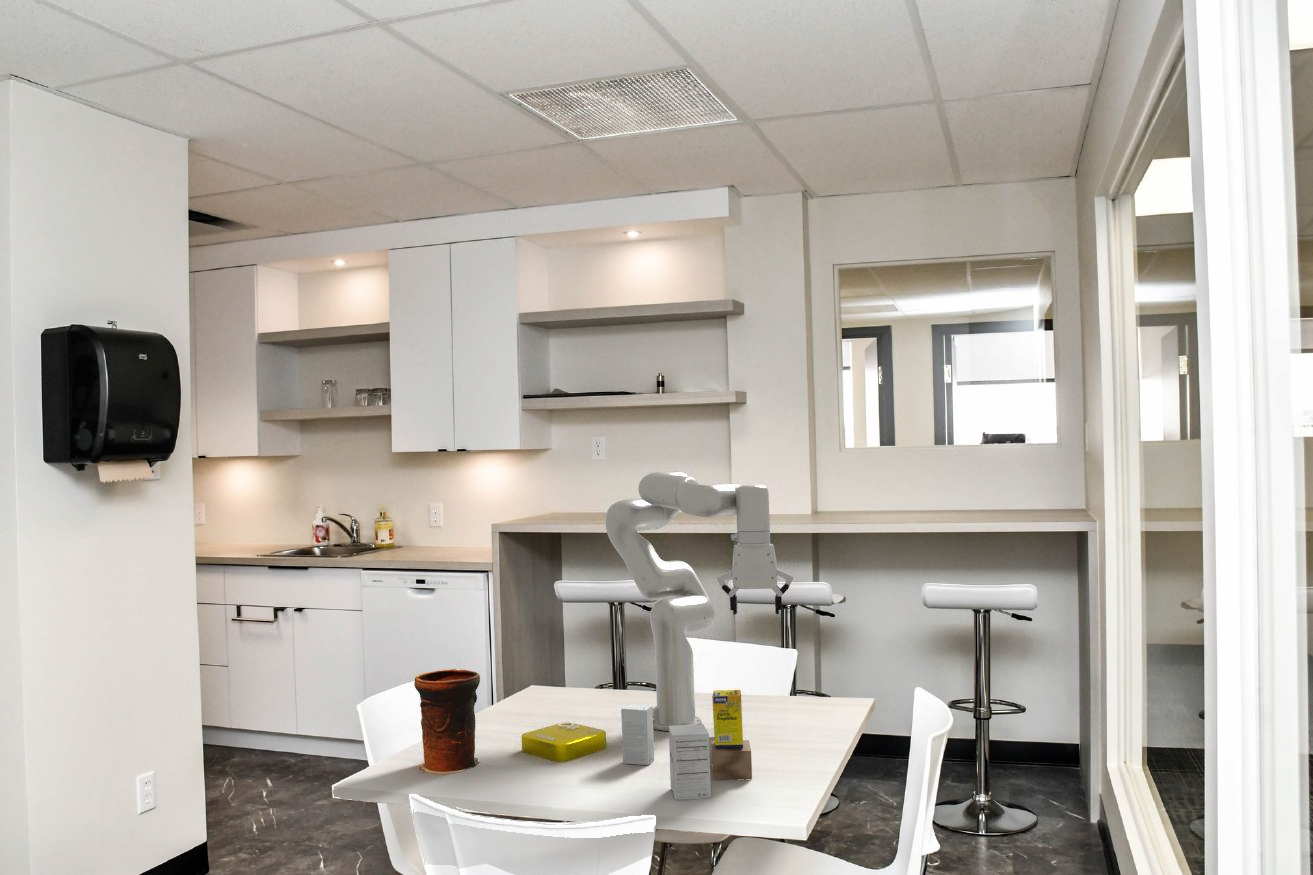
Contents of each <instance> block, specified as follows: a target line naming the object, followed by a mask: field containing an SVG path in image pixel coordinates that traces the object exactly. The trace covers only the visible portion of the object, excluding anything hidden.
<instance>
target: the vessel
mask: <svg viewBox="0 0 1313 875" xmlns="http://www.w3.org/2000/svg"><path fill="white" fill-rule="evenodd" d="M480 682H481V674H480V673H478V672H477V671H472V670H467V669H458V668H457V669H456V668H449V669H442V670H435V671H427V672H423V673H419V674H418V675H416V676H415V677H414V683H413V684H414V685H413V686H414V688H415V690H416V691H417V692H418V694H419V699H420V703H419V707H420V714H421V720H420V725H421V731H422V732H421V735H422V736H421V739H422V749H423V762H422V763H420V764H419V769H421V772H424V773H429V774H434V775H435V774H436V775H437V774H439V775H449V774H450V775H451V774H453V773H459V772H462V771H466V770H468V769H471V768H472V769H473V768H475V767H476V766H478V765H479V764H481V761H479V758H478V757H475V753H476V714H475V705H476V703H477V700H478V695H477V689H478V687H479V686H480Z"/></svg>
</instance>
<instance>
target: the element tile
mask: <svg viewBox="0 0 1313 875" xmlns="http://www.w3.org/2000/svg"><path fill="white" fill-rule="evenodd" d="M606 749H607V732H606V731H605V729H601V728H596V727H591V726H587V725H582V724H579V723H574V722H571V721H563V722H559V723H557V724H552V725H549V726H545V727H542V728H538V729H535V730H531V731H527V732H524V733H522V735H521V752H522V753H523V754H525V755H529V756H532V757H537V758H541V759H544V760H549V761H552V762H556V763H565V762H566V763H567V762H570V761H573V760H577V759H580V758H582V757H586V756H590V755H592V754H595V753H598V752H602V751H604V750H606Z"/></svg>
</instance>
